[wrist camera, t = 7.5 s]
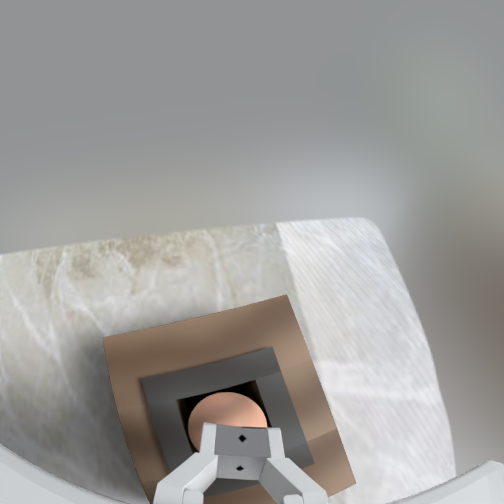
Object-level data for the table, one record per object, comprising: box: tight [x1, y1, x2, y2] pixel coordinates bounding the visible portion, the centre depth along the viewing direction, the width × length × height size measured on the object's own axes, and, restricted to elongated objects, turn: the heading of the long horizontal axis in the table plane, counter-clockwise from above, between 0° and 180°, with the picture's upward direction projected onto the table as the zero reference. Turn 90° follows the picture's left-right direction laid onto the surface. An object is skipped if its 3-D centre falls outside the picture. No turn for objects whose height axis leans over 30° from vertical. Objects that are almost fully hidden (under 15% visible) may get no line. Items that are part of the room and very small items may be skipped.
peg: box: [188, 392, 267, 451], centre depth 19 cm, size 5×5×8 cm
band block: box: [103, 294, 356, 504], centre depth 19 cm, size 16×14×9 cm
